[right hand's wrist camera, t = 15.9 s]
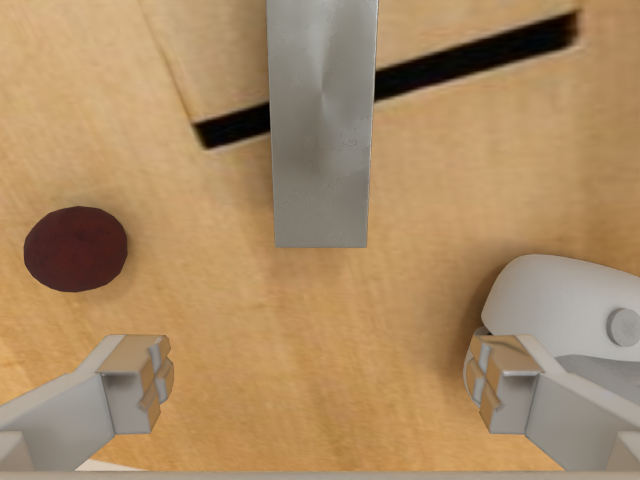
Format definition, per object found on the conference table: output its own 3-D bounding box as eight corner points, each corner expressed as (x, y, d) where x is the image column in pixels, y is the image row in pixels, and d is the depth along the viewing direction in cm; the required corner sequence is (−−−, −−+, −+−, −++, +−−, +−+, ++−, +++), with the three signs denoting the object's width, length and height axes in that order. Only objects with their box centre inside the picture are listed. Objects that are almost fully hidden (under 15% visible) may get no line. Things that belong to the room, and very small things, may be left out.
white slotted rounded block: (513, 441, 46) (596, 590, 32) (406, 304, 39) (452, 417, 26) (703, 344, 41) (896, 470, 27) (616, 171, 35) (811, 222, 21)
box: (355, 212, 36) (366, 248, 28) (285, 212, 36) (275, 247, 28) (365, -57, 29) (385, -120, 20) (278, -57, 29) (261, -120, 20)
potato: (45, 236, 37) (-16, 267, 30) (91, 179, 35) (38, 198, 28) (110, 286, 39) (67, 326, 32) (158, 234, 37) (122, 264, 30)
